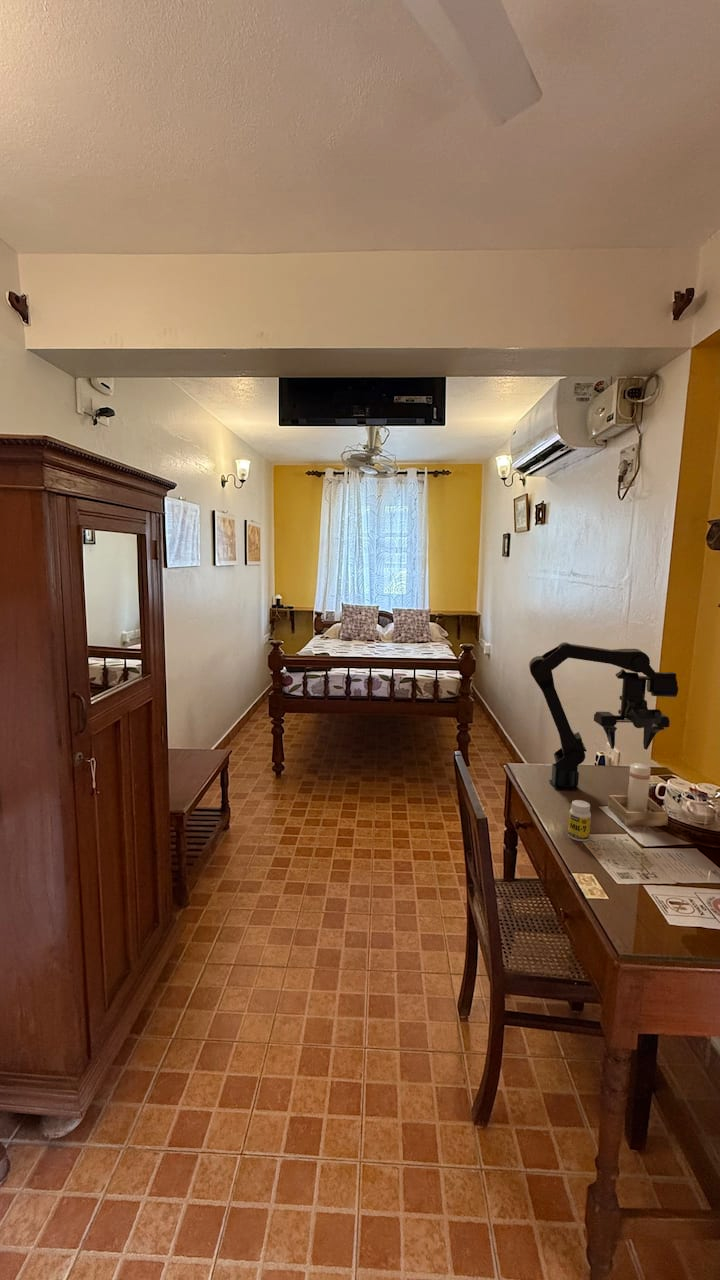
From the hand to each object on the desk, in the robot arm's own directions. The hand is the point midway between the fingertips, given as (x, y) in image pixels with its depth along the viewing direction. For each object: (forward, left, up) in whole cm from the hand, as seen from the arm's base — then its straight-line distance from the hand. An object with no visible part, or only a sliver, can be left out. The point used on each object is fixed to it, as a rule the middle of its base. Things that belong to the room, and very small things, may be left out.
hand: (628, 748), depth 154 cm
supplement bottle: (-23, -26, -13) cm, 37 cm away
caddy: (-4, -15, -13) cm, 20 cm away
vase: (-4, -15, -12) cm, 20 cm away
